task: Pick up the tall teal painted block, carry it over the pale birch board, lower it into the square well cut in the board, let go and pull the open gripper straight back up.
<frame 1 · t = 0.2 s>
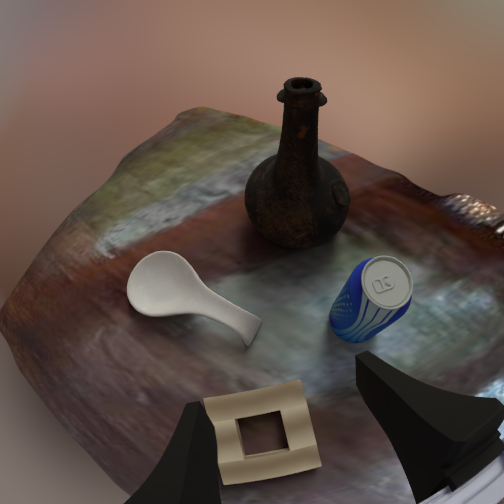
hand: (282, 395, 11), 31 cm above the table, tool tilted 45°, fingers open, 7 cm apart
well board: (262, 432, 36), on the table
beer can: (352, 319, 43), on the table
glass bottle: (294, 219, 53), on the table
spoon rest: (193, 304, 47), on the table
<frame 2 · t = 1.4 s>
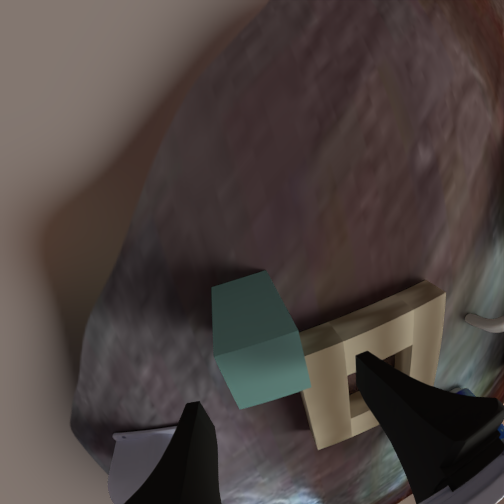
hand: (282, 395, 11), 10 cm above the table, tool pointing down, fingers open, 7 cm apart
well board: (367, 366, 24), on the table
teal block: (246, 302, 21), on the table
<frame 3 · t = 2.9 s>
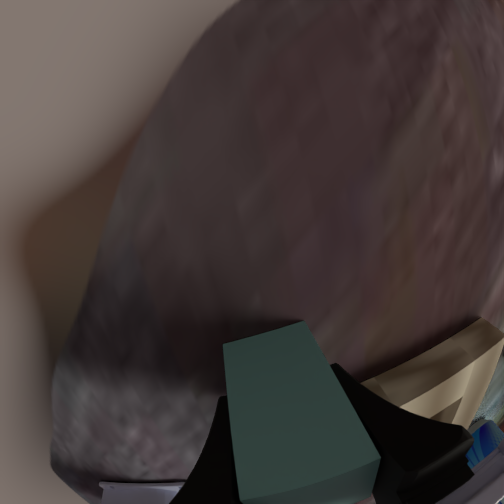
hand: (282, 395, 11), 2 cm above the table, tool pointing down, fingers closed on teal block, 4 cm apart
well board: (404, 415, 18), on the table
beer can: (465, 435, 24), on the table
teal block: (272, 363, 14), on the table, touching gripper
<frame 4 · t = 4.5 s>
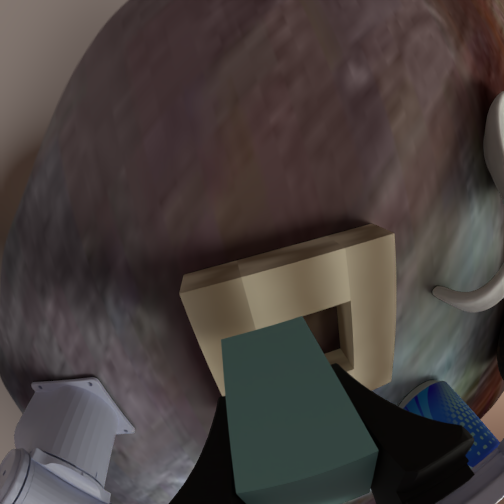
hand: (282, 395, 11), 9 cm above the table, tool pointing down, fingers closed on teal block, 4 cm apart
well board: (299, 330, 22), on the table
beer can: (417, 399, 28), on the table
teal block: (270, 358, 14), point 7 cm above the table, touching gripper
spoon rest: (483, 194, 21), on the table
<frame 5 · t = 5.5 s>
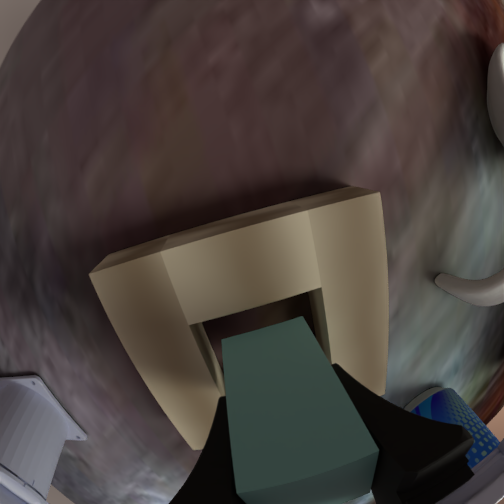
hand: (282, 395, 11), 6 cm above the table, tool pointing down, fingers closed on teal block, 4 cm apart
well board: (261, 328, 17), on the table
beer can: (418, 408, 24), on the table
teal block: (271, 358, 14), point 3 cm above the table, touching gripper
spoon rest: (491, 162, 16), on the table
when the fingers open (4 cm above the table, at t = 6.2 s): teal block drops 2 cm, resting in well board.
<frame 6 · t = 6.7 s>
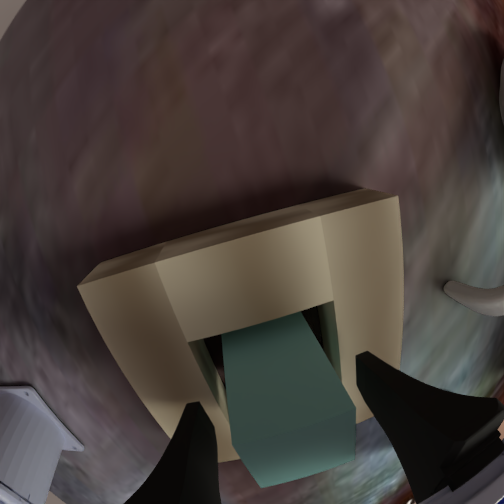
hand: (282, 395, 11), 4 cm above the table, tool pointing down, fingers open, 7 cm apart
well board: (265, 341, 16), on the table
teal block: (265, 338, 16), resting in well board
spoon rest: (502, 165, 15), on the table
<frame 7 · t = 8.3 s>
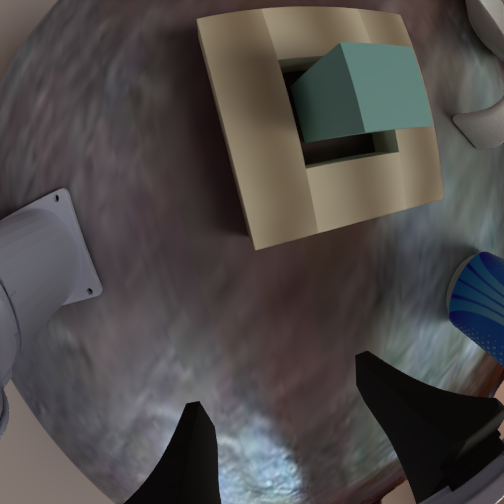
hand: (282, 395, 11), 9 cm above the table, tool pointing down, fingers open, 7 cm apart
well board: (325, 112, 17), on the table
beer can: (465, 285, 24), on the table
teal block: (325, 110, 17), resting in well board
spoon rest: (479, 56, 17), on the table
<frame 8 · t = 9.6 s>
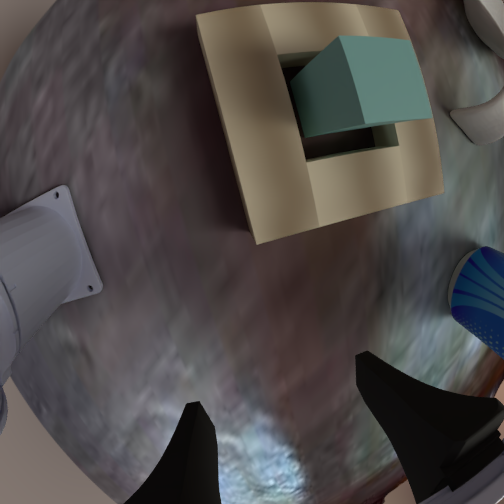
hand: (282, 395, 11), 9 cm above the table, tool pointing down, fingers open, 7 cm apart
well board: (325, 107, 17), on the table
beer can: (467, 280, 24), on the table
teal block: (324, 105, 17), resting in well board
spoon rest: (476, 52, 16), on the table
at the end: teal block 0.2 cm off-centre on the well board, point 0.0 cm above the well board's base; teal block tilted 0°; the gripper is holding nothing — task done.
